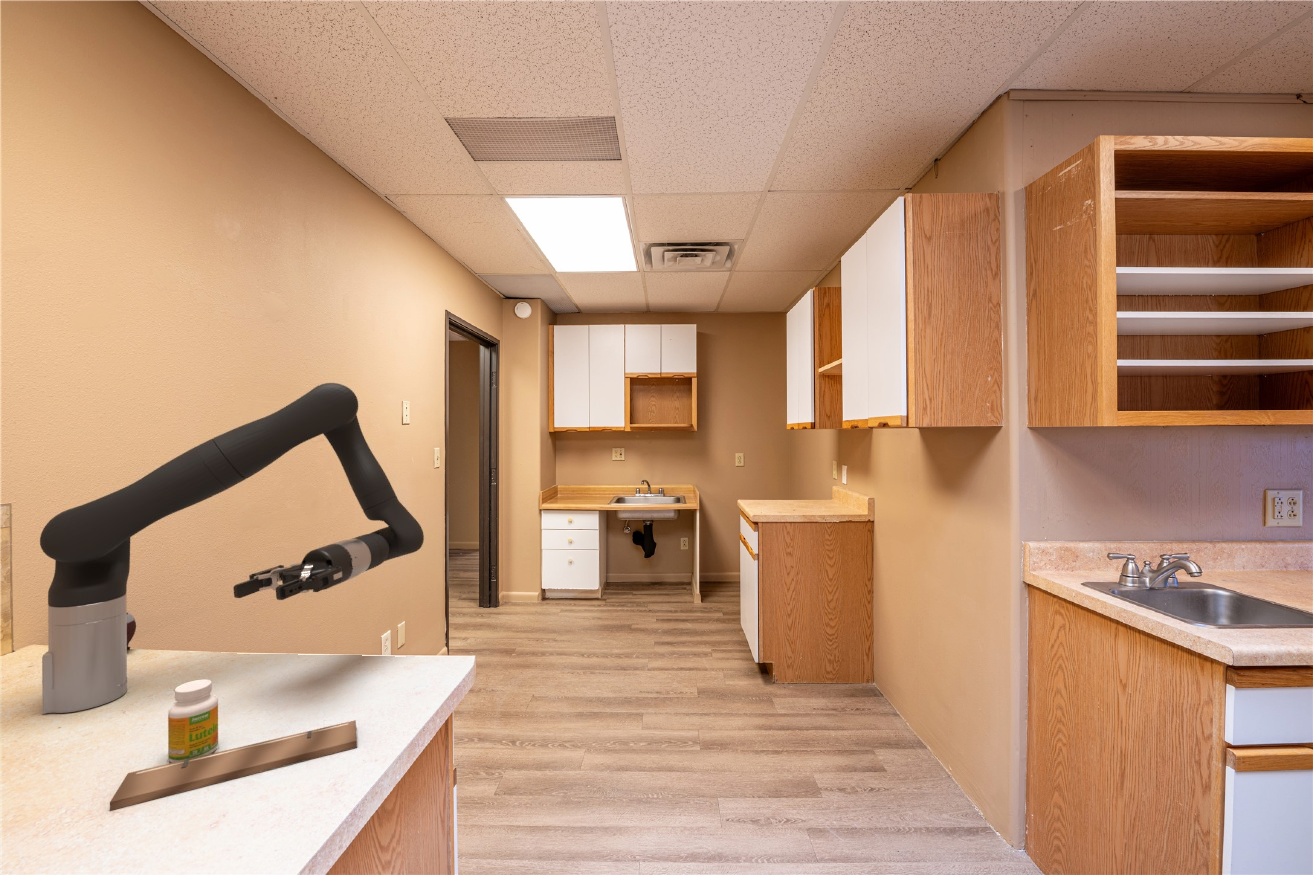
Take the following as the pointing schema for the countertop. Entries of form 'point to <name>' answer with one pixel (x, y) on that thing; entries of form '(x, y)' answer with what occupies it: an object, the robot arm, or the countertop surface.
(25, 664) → the countertop surface
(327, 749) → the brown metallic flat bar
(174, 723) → the supplement bottle
